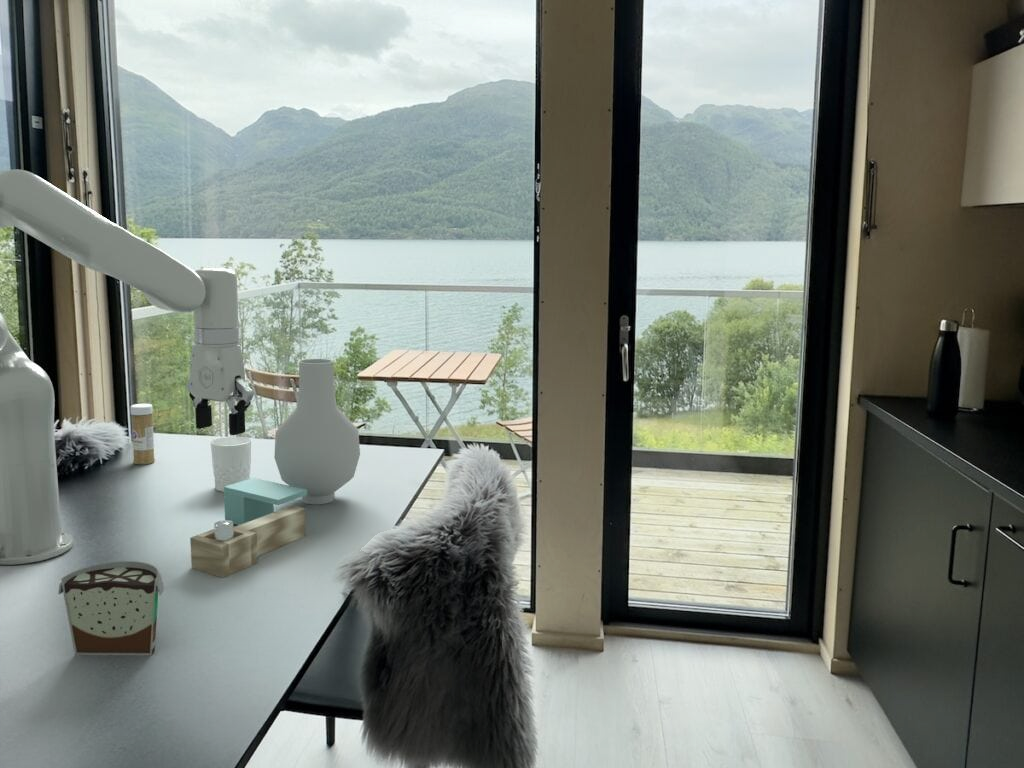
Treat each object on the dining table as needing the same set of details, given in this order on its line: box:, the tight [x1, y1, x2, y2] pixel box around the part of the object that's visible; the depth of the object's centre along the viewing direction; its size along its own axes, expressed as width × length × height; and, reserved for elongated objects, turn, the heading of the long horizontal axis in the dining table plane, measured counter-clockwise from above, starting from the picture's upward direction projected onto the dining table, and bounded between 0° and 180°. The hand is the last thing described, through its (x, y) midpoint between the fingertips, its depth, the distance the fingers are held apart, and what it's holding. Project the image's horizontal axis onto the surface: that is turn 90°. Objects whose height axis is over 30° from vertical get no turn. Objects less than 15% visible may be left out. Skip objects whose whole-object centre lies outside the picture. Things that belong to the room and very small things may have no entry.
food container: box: [57, 560, 165, 656], centre depth 102 cm, size 12×6×10 cm, turn 92°
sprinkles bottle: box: [130, 403, 156, 466], centre depth 183 cm, size 5×5×14 cm
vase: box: [274, 358, 361, 505], centre depth 159 cm, size 17×16×28 cm
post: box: [213, 519, 234, 542], centre depth 127 cm, size 3×3×7 cm
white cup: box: [210, 435, 252, 493], centre depth 166 cm, size 8×8×10 cm
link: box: [189, 505, 306, 579], centre depth 133 cm, size 20×7×5 cm, turn 151°
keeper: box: [223, 477, 307, 526], centre depth 146 cm, size 7×14×6 cm, turn 61°
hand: (220, 430), depth 149 cm, fingers open, 8 cm apart
